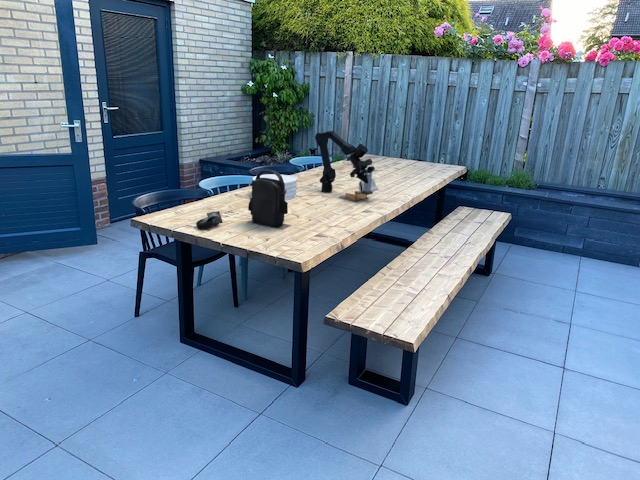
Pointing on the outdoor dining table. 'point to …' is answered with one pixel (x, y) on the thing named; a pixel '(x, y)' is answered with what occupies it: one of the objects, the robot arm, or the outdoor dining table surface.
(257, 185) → the black backpack
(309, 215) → the outdoor dining table surface
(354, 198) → the keeper cradle
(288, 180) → the plate stack
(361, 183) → the hinge
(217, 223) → the caster wheel
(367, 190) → the grey piece
